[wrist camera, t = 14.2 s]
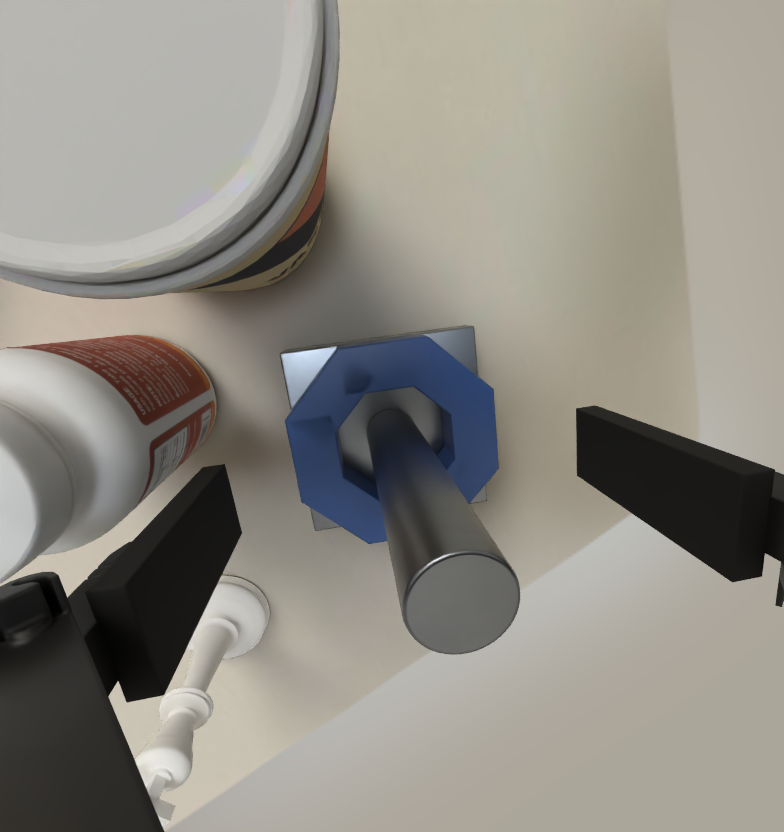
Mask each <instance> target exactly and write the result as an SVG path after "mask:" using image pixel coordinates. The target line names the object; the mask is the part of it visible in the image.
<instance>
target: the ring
mask: <svg viewBox="0 0 784 832" xmlns="http://www.w3.org/2000/svg"><path fill="white" fill-rule="evenodd" d="M413 386H414V387H415V388H416V389H418V390H419V391H420V392H422V393H423V394H424V395H425V396H427V397H428V398H429V399H431V400H432V401H433V402H435V403H436V404H437V405H439V406H440V407H441V417H442V427H443V437H444V447H443V448H442V449H441V451H440V452H439V453H438V454H437V457H438V459H439V460H440V462H441V463H442V465H443V466H444V468H445V469H446V470H447V472H448V473H449V475H450V476H451V478H452V479H453V481H454V482H455V484H456V485H457V487H458V488H459V490H460V491H461V493H462V494H463V496H464V497H465V499H466V500H467V502H468V503H469V504H470V502H471V501H472V500H473V499H474V498H475V496H476V495H477V494H478V493H479V492H480V490H481V489H482V488H483V487H484V486H485V484H486V483H487V482H488V481H489V480H490V478H491V477H492V476H493V475H494V473H495V472H496V471H497V470H498V469H499V467H498V451H497V436H496V420H495V405H494V390H493V388H491V387H490V386H489V385H488V384H486V383H485V382H484V381H483V380H482V379H480V378H479V377H478V376H477V375H475V374H474V373H473V372H472V371H470V370H469V369H468V368H467V367H465V366H464V365H463V364H462V363H460V362H459V361H458V360H457V359H455V358H454V357H453V356H452V355H451V354H449V353H448V352H447V351H446V350H444V349H443V348H442V347H441V346H439V345H438V344H437V343H436V342H434V341H433V340H432V339H431V338H429V337H428V336H424V335H420V334H417V335H410V336H403V337H395V338H388V339H381V340H374V341H367V342H359V343H352V344H345V345H339V346H337V348H336V349H335V351H334V352H333V353H332V355H331V356H330V357H329V359H328V360H327V362H326V363H325V364H324V366H323V367H322V368H321V370H320V371H319V372H318V374H317V375H316V377H315V378H314V379H313V381H312V382H311V383H310V385H309V386H308V388H307V389H306V390H305V392H304V393H303V394H302V396H301V397H300V398H299V400H298V401H297V403H296V404H295V405H294V407H293V408H292V409H291V411H290V413H289V415H288V416H287V418H286V420H285V423H286V428H287V433H288V438H289V443H290V448H291V453H292V458H293V462H294V467H295V472H296V477H297V482H298V487H299V492H300V497H301V502H302V503H304V504H306V505H307V506H309V507H310V508H312V509H314V510H315V511H317V512H318V513H320V514H322V515H323V516H325V517H327V518H328V519H330V520H331V521H333V522H335V523H336V524H338V525H340V526H341V527H343V528H344V529H346V530H348V531H349V532H351V533H352V534H354V535H356V536H357V537H359V538H361V539H362V540H364V541H365V542H367V543H369V544H372V543H378V542H384V541H387V536H386V531H385V526H384V521H383V515H382V510H381V505H380V500H379V495H378V490H377V485H376V483H374V482H373V481H371V480H370V479H368V478H367V477H365V476H364V475H362V474H361V473H359V472H358V471H356V470H355V469H353V468H352V467H350V466H349V465H347V464H346V463H344V461H343V456H342V450H341V444H340V438H339V432H338V429H339V428H340V426H341V425H342V424H343V422H344V421H345V420H346V418H347V417H348V416H349V414H350V413H351V412H352V410H353V409H354V408H355V406H356V405H357V404H358V402H359V401H360V400H361V399H362V397H363V396H364V395H365V394H367V393H373V392H380V391H387V390H393V389H400V388H407V387H413Z"/></svg>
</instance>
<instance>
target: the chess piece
mask: <svg viewBox="0 0 784 832" xmlns="http://www.w3.org/2000/svg"><path fill="white" fill-rule="evenodd" d="M269 617H270V610H269V605H268V602H267V600H266V598H265V596H264V595H263V593H262V592H261V591H260V590H259V589H258V588H257V587H256V586H255V585H253V584H252V583H250V582H248V581H246V580H244V579H241V578H238V577H234V576H221V577H220V580H219V582H218V584H217V586H216V588H215V590H214V592H213V594H212V596H211V598H210V600H209V602H208V604H207V607H206V609H205V611H204V613H203V615H202V617H201V619H200V621H199V623H198V625H197V627H196V629H195V632H194V634H193V636H192V638H191V640H190V642H189V644H188V646H187V648H188V649H189V650H190V651H192V652H193V653H192V657H191V660H190V664H189V667H188V671H187V674H186V677H185V680H184V683H183V687H180V688H176V689H174V690H172V691H170V692H169V693H167V694H166V695H165V696H164V697H163V699H162V701H161V703H160V709H159V716H160V719H161V721H162V723H163V724H164V725H163V726H162V727H161V728H160V730H159V731H158V733H157V734H156V735H155V737H154V738H153V739H152V740H151V741H150V742H149V743H148V744H147V745H146V746H145V748H144V749H143V750H142V751H141V753H140V754H139V755H138V757H137V758H136V760H135V762H136V765H137V767H138V770H139V772H140V774H141V777H142V779H143V782H144V784H145V786H146V789H147V791H148V794H149V796H150V798H151V801H152V803H153V806H154V808H155V810H156V813H157V815H158V818H159V820H160V822H161V825H162V827H163V828H164V827H165V826H166V825H167V824H168V823H169V822H170V820H171V817H172V814H173V811H174V808H175V805H172V804H170V803H168V802H165V801H163V800H160V799H159V798H160V795H161V793H162V792H166V791H170V790H173V789H175V788H177V787H179V786H180V785H182V784H183V783H184V782H185V781H186V780H187V778H188V777H189V775H190V773H191V769H192V761H193V752H192V743H193V730H196V729H198V728H200V727H201V726H203V725H204V724H205V723H206V722H207V720H208V719H209V717H210V716H211V714H212V712H213V702H212V699H211V697H210V696H209V695H208V694H207V693H206V690H207V688H208V686H209V684H210V682H211V680H212V678H213V676H214V674H215V672H216V670H217V668H218V666H219V664H220V662H221V660H222V659H229V658H234V657H237V656H240V655H242V654H244V653H246V652H248V651H249V650H251V649H252V648H253V647H254V646H255V645H256V644H257V643H258V642H259V641H260V639H261V638H262V636H263V634H264V632H265V629H266V627H267V625H268V622H269Z"/></svg>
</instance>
